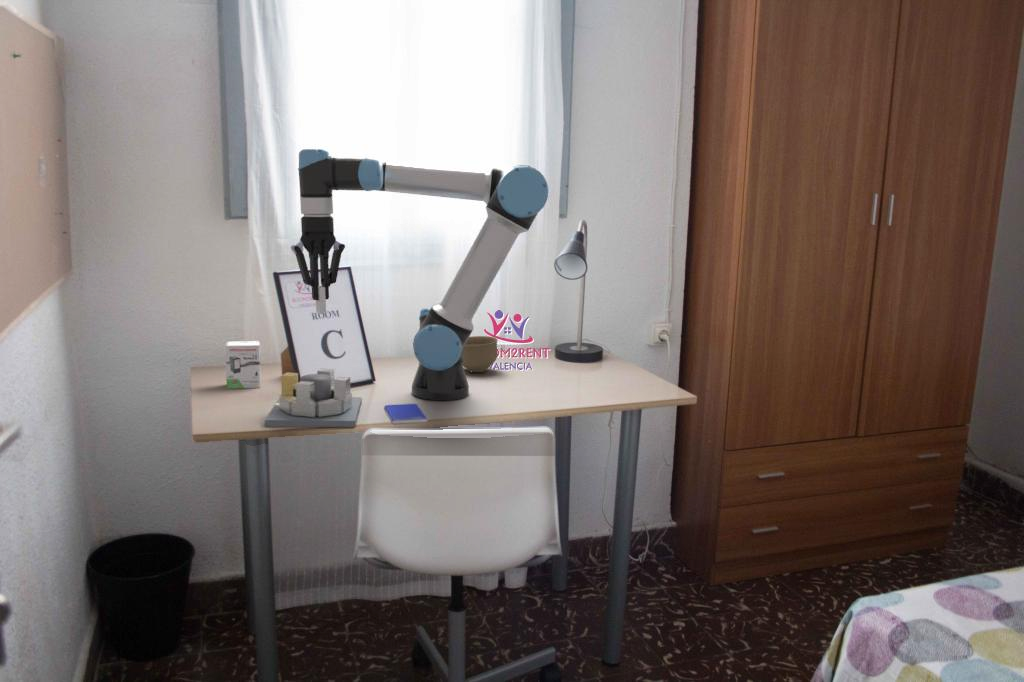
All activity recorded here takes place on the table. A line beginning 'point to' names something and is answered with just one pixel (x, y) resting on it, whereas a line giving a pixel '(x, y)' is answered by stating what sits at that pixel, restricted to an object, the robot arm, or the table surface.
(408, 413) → the hard drive
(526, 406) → the table surface
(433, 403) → the table surface
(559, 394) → the table surface
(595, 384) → the table surface
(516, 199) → the robot arm
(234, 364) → the ink box
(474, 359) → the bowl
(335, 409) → the ring nut
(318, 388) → the housing
